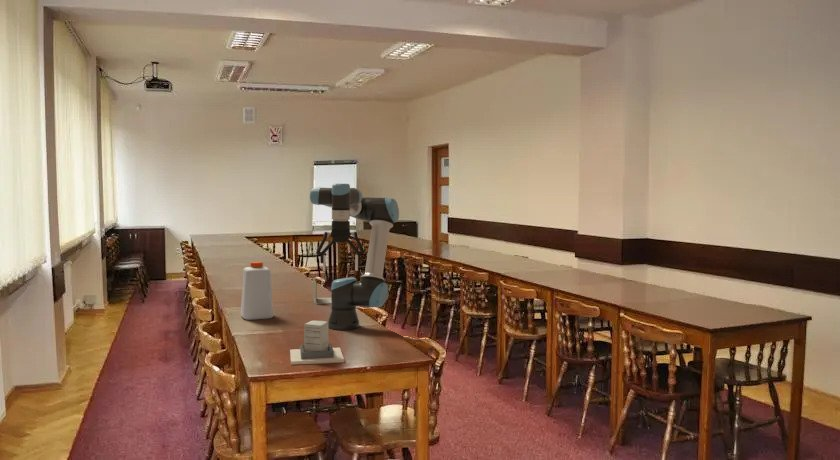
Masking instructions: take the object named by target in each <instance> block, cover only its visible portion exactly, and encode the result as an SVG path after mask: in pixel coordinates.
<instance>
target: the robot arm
mask: <svg viewBox="0 0 840 460" xmlns="http://www.w3.org/2000/svg"><path fill="white" fill-rule="evenodd" d="M331 186H332V187H313V188H312V189H311V190H310V193H309V200H310V203H311V204H312V205H316V206H325V207H329V208H331V220H332V221H331V231H330V232H328V231H324V232H323V237H322V239H321V241H320V244H319V245H318V246H317V249H316V252H315V253H316V255H318V256H319V258H320V259H319V260H320V261H319V262H320V263H321V264H322V271H323V272H326V255H325V254H326V253H327V251H328V250H329V249H330V248H331V247H332V246H333V245H334V243H337V244H339V243H346V242H347V244H348V245H349V246H350V247H351V248H352V250H353V251H354V252H355V253H356V254H355V259H354V263H355V264H354V265H355V266H354V267H355V269H354V270H355V271H356V272H358V271H359V264H360V263H361V259H362V258H361V256H362V255H364V254H366V251H365V250H364V249H365V248H363V245H362V243H361V241H360V239H359V237H358V232H357V231H353V232H351V231H350V227H351V222H350V221H349V220H350V218H354V219H357V220H361V221H363V222H364V221H366V222H368V223H369V225H370V226H371V231H370V237H369V242H368V250H367V255H366V262H365V270H364V274H363V275H361V276H360V280H359V281H357V278H356V277H344V278H338V279H334V280H333V281H332V282H331V288H330V291H331V293H330V294H331V295H330V296H331V297H330V298H331V304H330V307H331V309H330V313H329V317H328V320H327V322H328V329H332V330H342V331H343V330H345V331H346V330H347V331H348V330H354V329H358V328H360V320H359V316H358V313H357V307H367V308H381V307H382V306H383V305H384V304H385V302H387V301H386V300H387V298H388V294H389V288H388V287H389V286H388V284H387V283H386V280H385V278H384V277H383V275H384V267H385V261H386V256H387V255H386V254H387V249H388V248H387V247H388V242H389V241H388V240H389V235H390V234H389V233H390V230H391V229H392V228H393V227H394V224H395V223H397V222H398V221H399V218H400V210H399V204H398V201H397V200H396V199H395V198H392V197H363V194H362V191H361V190H360V189H359V188H355V187H351V186H350V184H349V183H333V184H332V185H331ZM329 236H331V238H332V239H331V240H330V241H329V242H328V244H326V246H325V247H324V245H325V243H326V241H327V238H329ZM351 236H352V237H353V238H354V240H355V242H356V244H357V246H358V248H359V249H357V247H356V246H355V245H354V243H353V242H352V241H351V239H350V237H351ZM323 247H324V249H323ZM321 250H322V251H321Z"/></svg>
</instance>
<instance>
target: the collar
mask: <svg viewBox="0 0 840 460" xmlns="http://www.w3.org/2000/svg"><path fill="white" fill-rule="evenodd" d="M333 348H334V347H333V346H332V343H328V351H311V352H304V344H299V349H300V355H301V359H316V358H334V351H333Z"/></svg>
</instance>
